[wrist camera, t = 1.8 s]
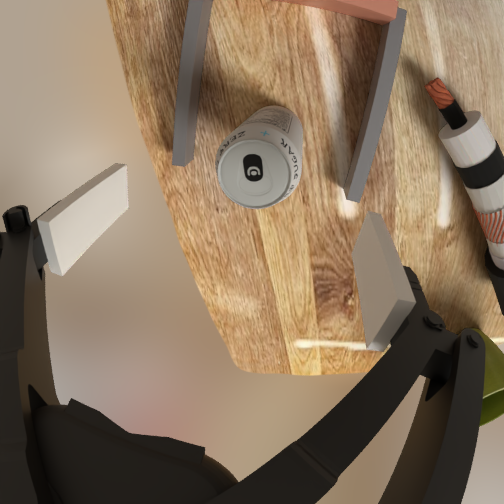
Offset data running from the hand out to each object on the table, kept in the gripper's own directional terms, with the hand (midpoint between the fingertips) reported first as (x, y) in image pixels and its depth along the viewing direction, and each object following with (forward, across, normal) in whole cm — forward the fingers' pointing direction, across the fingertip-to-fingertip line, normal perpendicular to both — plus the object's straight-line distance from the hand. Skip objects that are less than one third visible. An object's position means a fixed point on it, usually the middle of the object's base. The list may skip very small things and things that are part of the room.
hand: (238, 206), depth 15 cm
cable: (+20, +29, 0) cm, 35 cm away
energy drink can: (+20, 0, 0) cm, 20 cm away
